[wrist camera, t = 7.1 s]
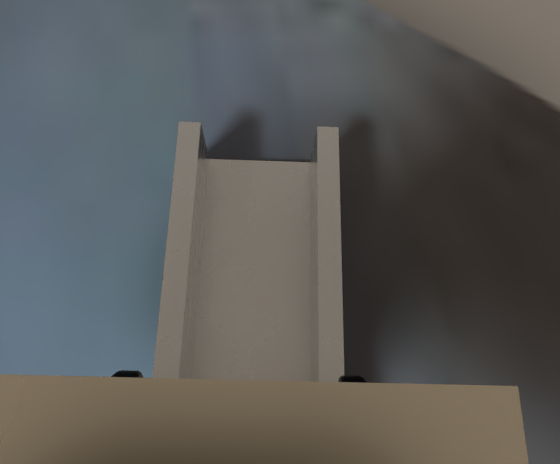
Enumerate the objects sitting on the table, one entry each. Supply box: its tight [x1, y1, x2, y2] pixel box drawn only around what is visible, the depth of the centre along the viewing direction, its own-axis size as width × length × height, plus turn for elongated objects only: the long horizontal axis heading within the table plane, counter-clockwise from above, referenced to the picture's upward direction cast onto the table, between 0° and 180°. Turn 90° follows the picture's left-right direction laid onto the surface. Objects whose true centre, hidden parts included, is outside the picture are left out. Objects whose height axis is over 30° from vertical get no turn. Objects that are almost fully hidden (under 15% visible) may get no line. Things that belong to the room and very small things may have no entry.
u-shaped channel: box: [152, 122, 344, 382], centre depth 15 cm, size 14×5×3 cm, turn 179°
